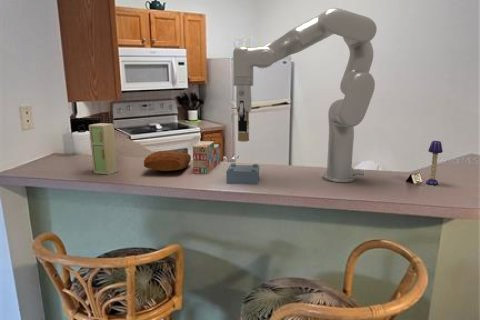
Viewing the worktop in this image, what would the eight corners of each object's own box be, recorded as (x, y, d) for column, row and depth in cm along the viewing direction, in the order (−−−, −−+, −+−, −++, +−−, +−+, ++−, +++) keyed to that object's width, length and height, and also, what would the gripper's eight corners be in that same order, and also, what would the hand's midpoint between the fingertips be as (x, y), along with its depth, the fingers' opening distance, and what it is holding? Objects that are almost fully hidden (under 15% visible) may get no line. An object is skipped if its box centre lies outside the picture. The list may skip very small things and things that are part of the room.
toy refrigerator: (92, 173, 150) (87, 124, 145) (104, 169, 157) (100, 122, 152) (106, 175, 147) (102, 125, 143) (118, 171, 154) (114, 123, 149)
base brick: (259, 177, 144) (259, 163, 142) (257, 184, 134) (257, 169, 133) (230, 176, 145) (230, 162, 144) (226, 183, 136) (226, 168, 134)
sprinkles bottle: (251, 141, 136) (251, 106, 133) (241, 142, 133) (241, 106, 130) (244, 139, 139) (244, 105, 136) (235, 140, 137) (234, 105, 134)
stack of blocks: (208, 162, 170) (207, 137, 167) (220, 163, 169) (220, 138, 166) (193, 173, 150) (192, 145, 147) (207, 174, 149) (206, 146, 146)
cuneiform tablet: (180, 177, 144) (179, 158, 142) (140, 176, 146) (139, 157, 144) (193, 165, 165) (193, 148, 163) (159, 164, 167) (158, 147, 165)
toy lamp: (437, 186, 130) (443, 142, 127) (423, 184, 133) (429, 141, 129) (438, 183, 134) (444, 140, 131) (425, 181, 137) (430, 139, 133)
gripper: (251, 82, 122) (250, 133, 127) (255, 81, 139) (254, 127, 143) (230, 82, 123) (230, 133, 127) (236, 81, 140) (236, 127, 144)
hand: (243, 129), depth 135 cm, fingers closed on sprinkles bottle, 4 cm apart
